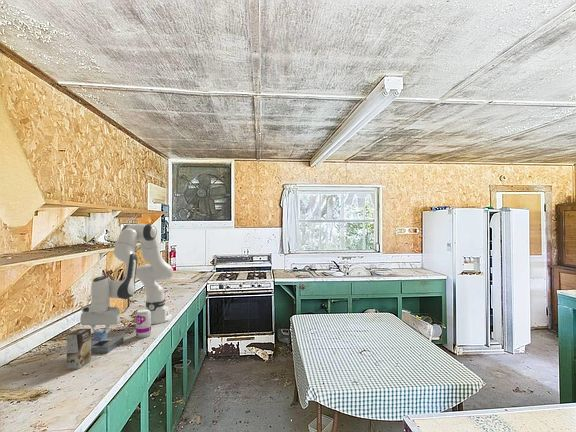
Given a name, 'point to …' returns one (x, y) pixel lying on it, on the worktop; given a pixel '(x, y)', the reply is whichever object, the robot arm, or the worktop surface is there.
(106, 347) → the plate
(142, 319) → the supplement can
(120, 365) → the worktop surface
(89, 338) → the coffee box
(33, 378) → the worktop surface
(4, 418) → the worktop surface
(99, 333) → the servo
